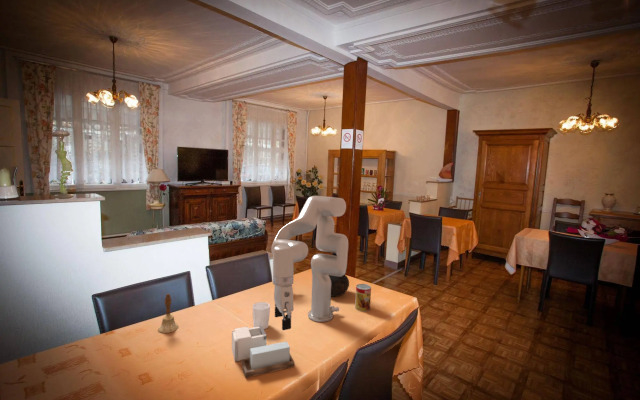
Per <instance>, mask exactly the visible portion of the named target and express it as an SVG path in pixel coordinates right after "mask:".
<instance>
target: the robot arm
mask: <svg viewBox="0 0 640 400" xmlns="http://www.w3.org/2000/svg"><path fill="white" fill-rule="evenodd" d="M346 210H347V203H346V201H345V200H344V198H343V197H334V196H325V195H323V196H322V195H321V196H320V195H312V196H309V197H308V198H307V199H306V201H305V203H304V204H303V207H302V208H301V209H300V212H299V214H298V215H297V217H296V218H295V219H294V220H292V221H290V222H289V223H286V225H284V226H283V227H281V229H279V231H278V232H277V234H276V235H275V237H274V239H273V242H272V244H271V251H270V252H271V254H272V284H273V285H274V289H273V290H274V292H273V299H274V300H273V301H274V317H275V318H280V317H282V319H281V330H282V331H286V330H287V331H288V330H291V329H292V312H294V287H293V284H294V272H293V271H294V269H295V268H294V263H298V262H302V261H303V260H305V259H306V258H307V256H308V254H309V246H308V245H307V243H305V242H304V241H300V240H292V238H294V237H296V236H299V235H304V234H307V233H310V232H312V231H314V230H315V229H316V237H315V247H316V249H317V250H318V251H321V252H325V253H316V254H314V255H313V256H312V257H311V260H310V268H311V309H310V310H309V311H308V313H307V317H308V318H309V319H310V320H311V321H313V322H317V323H319V322H320V323H324V322H329V321H331V320H333V318H334V312H340V308H339V306H337V307H336V306H335V305H331V301H332V299H331V298H332V296H331V279H330V277H329V275H332V276H338V277H341V276H343V275H344V274H345V275H346V272H347V266H348V253H349V240H348V237H347V236H346V235H345V234H343V233H337V232H335V220H334V218H333V217H335V218H337V217H342V216H343V215H344V214H345V213H346ZM327 253H331V254H332V253H336V254H337V256H333V255H331V254H327ZM285 313H286V314H285Z"/></svg>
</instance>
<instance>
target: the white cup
mask: <svg viewBox="0 0 640 400" xmlns="http://www.w3.org/2000/svg"><path fill="white" fill-rule="evenodd" d="M270 309H271V305H270V303H269V302H266V301H260V302H255V303H253V304H252V322H253V327H259V326H262V327H263V329H264V330H267V329H268V328H269V321H270V312H271V311H270Z"/></svg>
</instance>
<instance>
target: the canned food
mask: <svg viewBox="0 0 640 400" xmlns="http://www.w3.org/2000/svg"><path fill="white" fill-rule="evenodd" d="M371 296H372V286H371V285H369V284H366V283H358V284H356V287H355V304H354V305H355V306H354V307H355V309H356V310H357V311H360V312H369V311H370V310H371V298H372V297H371Z"/></svg>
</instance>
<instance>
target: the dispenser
mask: <svg viewBox="0 0 640 400" xmlns="http://www.w3.org/2000/svg"><path fill="white" fill-rule="evenodd" d="M267 338H268V337H267V333H266V331H265V329H263V327H262V326H259V327H254V326H253V327H248V326H243V327H236V328H234V330H232V331H231V352H232V356H233V361H234V362H239V361H241V360H242V359H247V358H250V349H251V348H256V347H261V346H266V345H267V342H268V341H267Z"/></svg>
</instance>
